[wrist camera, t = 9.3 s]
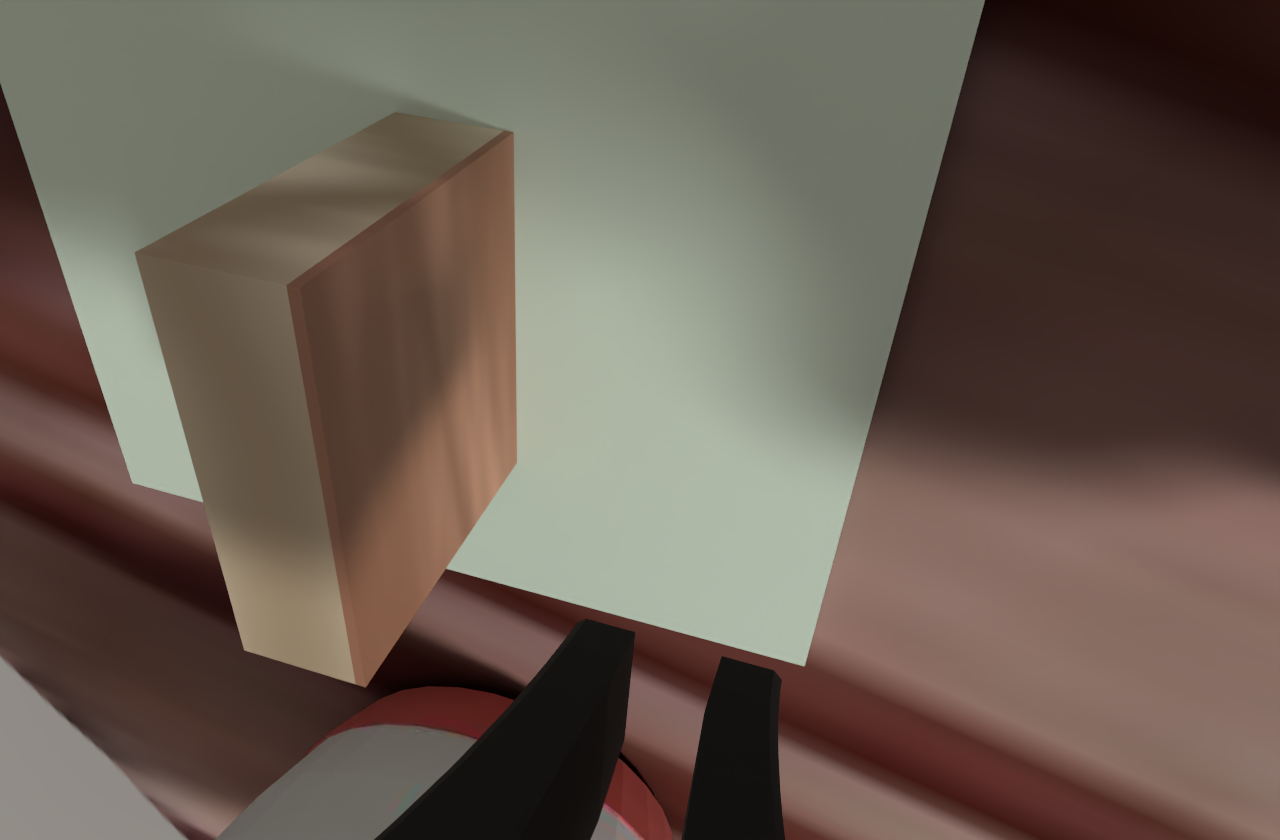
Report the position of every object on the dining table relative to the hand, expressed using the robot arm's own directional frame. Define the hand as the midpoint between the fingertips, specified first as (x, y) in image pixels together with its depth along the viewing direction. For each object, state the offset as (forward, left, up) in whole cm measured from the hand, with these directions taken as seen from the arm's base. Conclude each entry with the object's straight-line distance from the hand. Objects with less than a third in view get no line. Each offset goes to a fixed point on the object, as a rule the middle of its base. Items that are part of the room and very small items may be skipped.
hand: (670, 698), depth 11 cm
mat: (+8, 0, -9) cm, 12 cm away
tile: (+7, +1, -9) cm, 11 cm away
